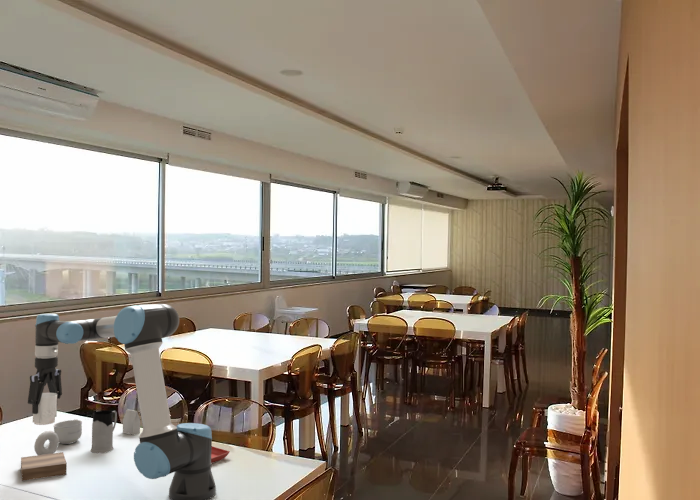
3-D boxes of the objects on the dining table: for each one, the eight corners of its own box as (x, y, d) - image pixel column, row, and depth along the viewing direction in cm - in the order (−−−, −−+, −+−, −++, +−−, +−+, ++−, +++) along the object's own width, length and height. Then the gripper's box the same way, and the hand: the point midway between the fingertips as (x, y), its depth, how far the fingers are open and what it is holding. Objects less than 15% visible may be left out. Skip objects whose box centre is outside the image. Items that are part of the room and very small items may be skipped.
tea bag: (133, 435, 268) (133, 412, 268) (122, 432, 271) (123, 410, 271) (139, 433, 271) (140, 410, 271) (129, 430, 274) (129, 408, 274)
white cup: (32, 420, 223) (33, 393, 223) (56, 418, 227) (57, 391, 227) (31, 426, 216) (32, 398, 216) (56, 424, 219) (57, 396, 220)
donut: (54, 452, 242) (55, 427, 242) (60, 453, 241) (61, 428, 241) (31, 459, 233) (32, 433, 233) (38, 461, 232) (38, 435, 232)
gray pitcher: (85, 452, 243) (86, 414, 244) (106, 441, 257) (106, 406, 258) (105, 453, 242) (106, 416, 242) (125, 443, 256) (125, 407, 256)
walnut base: (66, 474, 219) (66, 463, 219) (22, 481, 212) (22, 469, 212) (62, 462, 231) (63, 452, 231) (20, 468, 224) (21, 457, 224)
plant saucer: (230, 459, 240) (230, 450, 240) (195, 472, 225) (196, 463, 225) (198, 450, 250) (198, 442, 250) (163, 462, 235) (163, 453, 235)
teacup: (70, 446, 250) (71, 427, 250) (47, 444, 252) (47, 425, 252) (91, 437, 263) (92, 418, 263) (69, 435, 265) (69, 416, 266)
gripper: (35, 361, 211) (33, 427, 211) (73, 352, 231) (72, 413, 231) (16, 360, 212) (14, 426, 212) (56, 351, 232) (54, 411, 232)
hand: (44, 419), depth 221 cm, fingers closed on white cup, 8 cm apart
